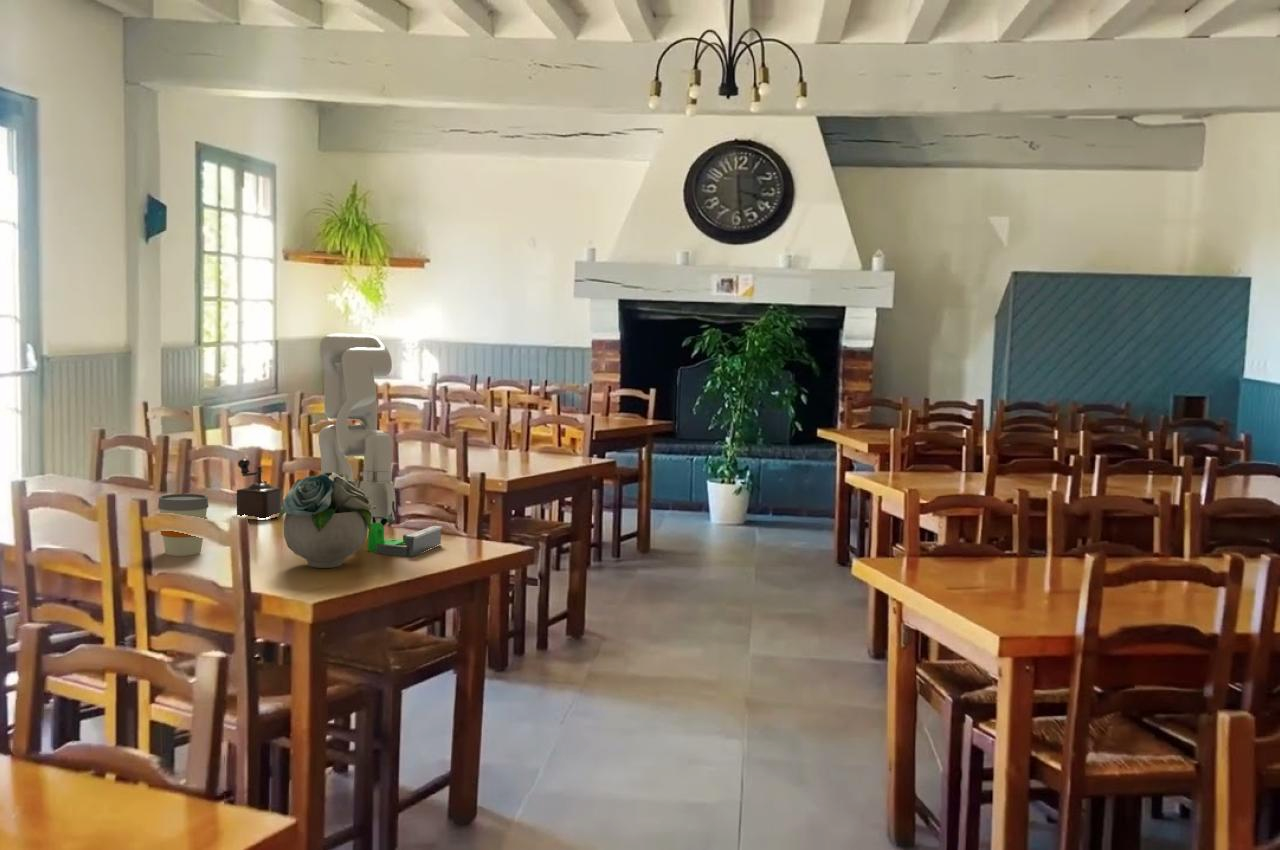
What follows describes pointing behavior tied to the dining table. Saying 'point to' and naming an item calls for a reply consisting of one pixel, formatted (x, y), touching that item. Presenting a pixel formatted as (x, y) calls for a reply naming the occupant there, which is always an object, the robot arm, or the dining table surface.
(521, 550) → the dining table surface
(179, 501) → the reusable coffee cup
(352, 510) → the flower arrangement
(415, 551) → the steel bracket
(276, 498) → the manual coffee grinder
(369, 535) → the mechanical part
